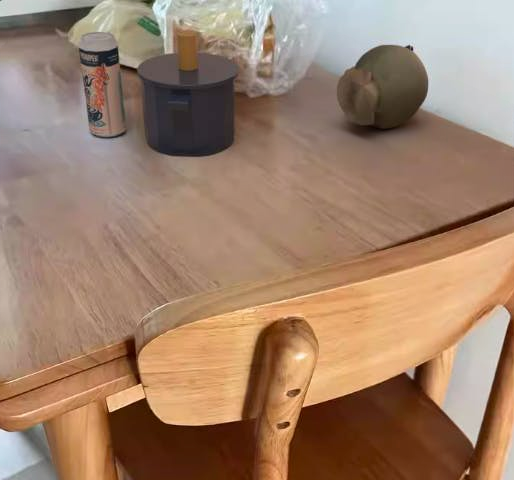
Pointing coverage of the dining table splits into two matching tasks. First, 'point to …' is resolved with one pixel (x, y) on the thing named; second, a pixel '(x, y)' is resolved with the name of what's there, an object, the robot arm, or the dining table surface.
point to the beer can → (102, 84)
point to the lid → (188, 67)
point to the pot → (189, 119)
